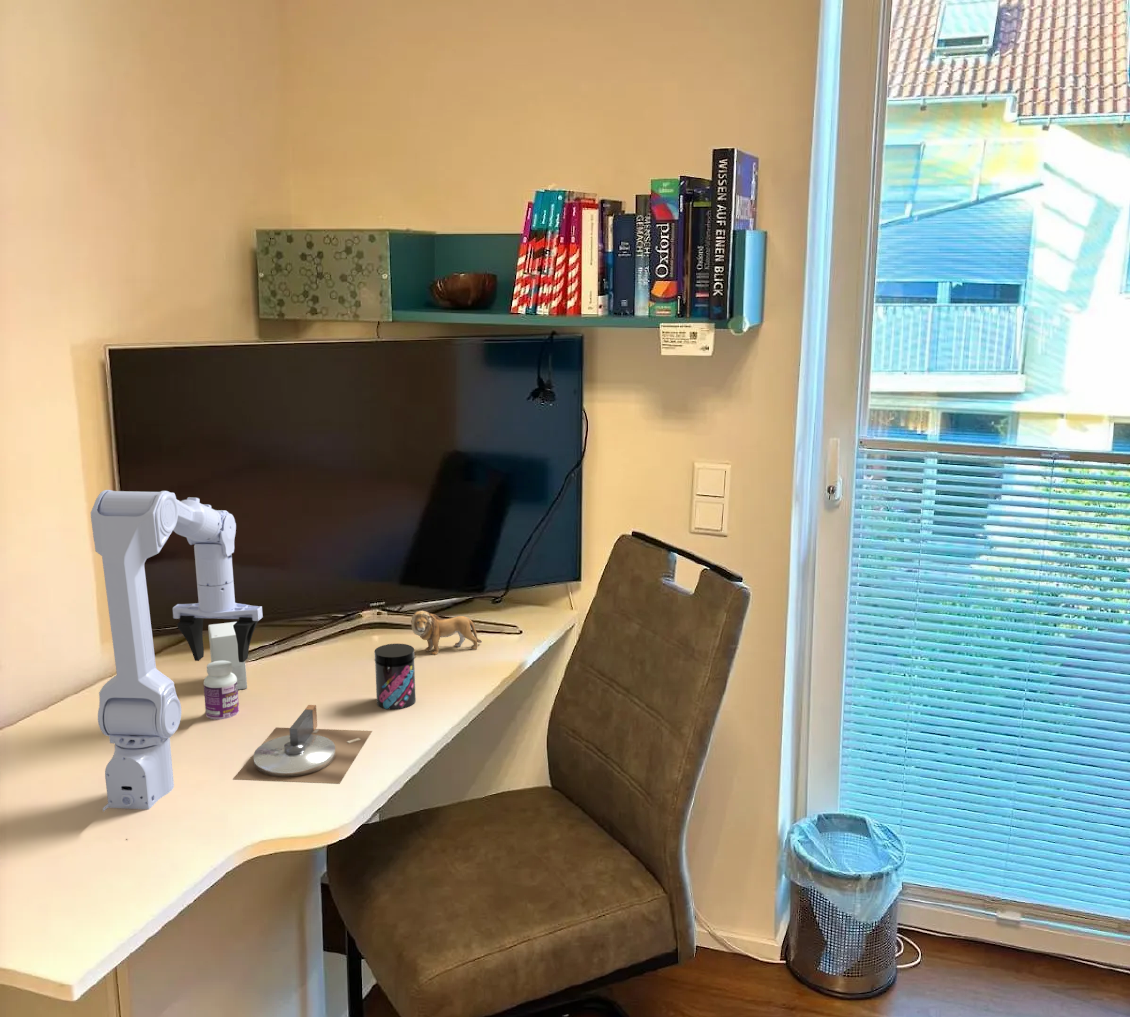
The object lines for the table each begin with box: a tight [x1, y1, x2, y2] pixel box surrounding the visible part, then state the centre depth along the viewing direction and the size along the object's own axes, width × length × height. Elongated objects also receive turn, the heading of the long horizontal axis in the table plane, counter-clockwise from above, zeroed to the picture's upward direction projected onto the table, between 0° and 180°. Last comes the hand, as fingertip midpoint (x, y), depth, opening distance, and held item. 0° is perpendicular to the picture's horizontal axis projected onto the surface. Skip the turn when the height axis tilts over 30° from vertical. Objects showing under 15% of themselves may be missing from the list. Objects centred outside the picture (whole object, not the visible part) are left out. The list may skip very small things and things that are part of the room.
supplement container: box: [373, 643, 417, 711], centre depth 181 cm, size 7×7×10 cm
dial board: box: [232, 727, 373, 785], centre depth 162 cm, size 18×16×1 cm
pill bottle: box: [203, 661, 240, 720], centre depth 177 cm, size 5×5×10 cm
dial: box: [253, 704, 335, 777], centre depth 161 cm, size 15×12×5 cm
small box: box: [207, 621, 248, 691], centre depth 192 cm, size 8×6×10 cm
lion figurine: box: [410, 610, 483, 656], centre depth 209 cm, size 15×5×9 cm, turn 118°
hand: (221, 659), depth 176 cm, fingers open, 7 cm apart
